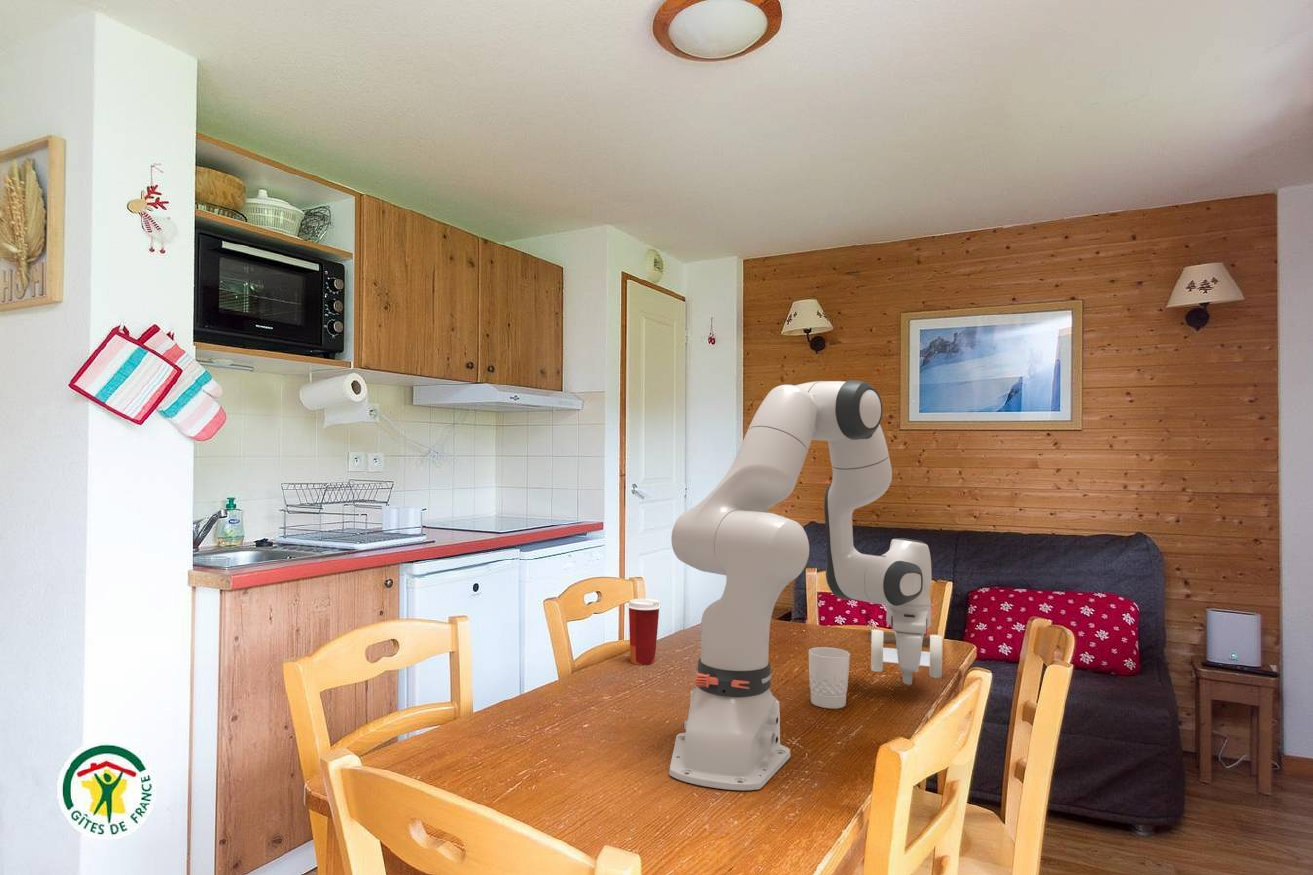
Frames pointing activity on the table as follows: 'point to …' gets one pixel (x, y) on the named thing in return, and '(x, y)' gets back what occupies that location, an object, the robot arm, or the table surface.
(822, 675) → the white cup
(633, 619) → the paper cup
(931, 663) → the post right
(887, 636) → the stopper wall
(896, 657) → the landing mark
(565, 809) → the table surface
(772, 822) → the table surface
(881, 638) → the post left
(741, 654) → the robot arm
